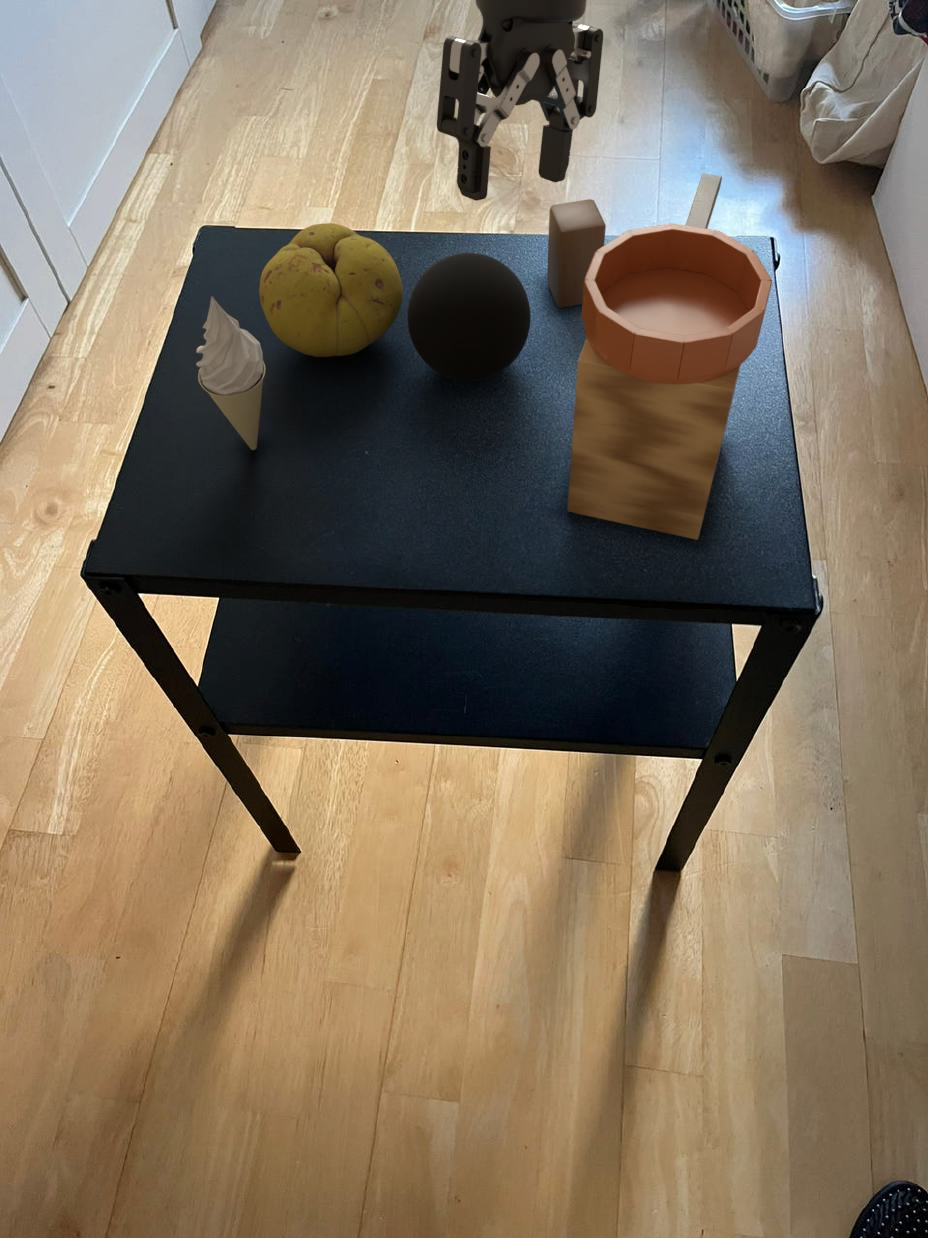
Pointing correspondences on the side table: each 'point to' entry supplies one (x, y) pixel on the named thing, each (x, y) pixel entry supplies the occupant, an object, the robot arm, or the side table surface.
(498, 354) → the decorative ball
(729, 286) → the pan
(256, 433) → the ice cream cone
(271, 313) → the fruit
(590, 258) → the wooden block
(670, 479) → the stand
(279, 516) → the side table surface
